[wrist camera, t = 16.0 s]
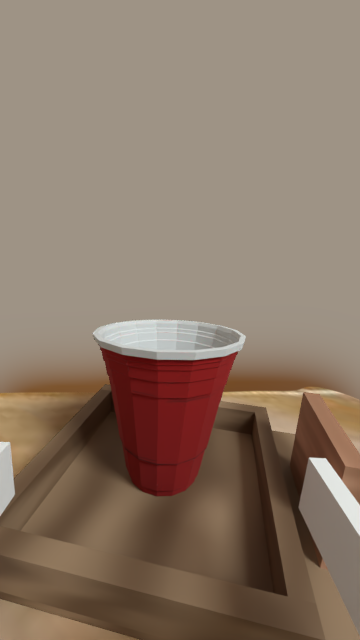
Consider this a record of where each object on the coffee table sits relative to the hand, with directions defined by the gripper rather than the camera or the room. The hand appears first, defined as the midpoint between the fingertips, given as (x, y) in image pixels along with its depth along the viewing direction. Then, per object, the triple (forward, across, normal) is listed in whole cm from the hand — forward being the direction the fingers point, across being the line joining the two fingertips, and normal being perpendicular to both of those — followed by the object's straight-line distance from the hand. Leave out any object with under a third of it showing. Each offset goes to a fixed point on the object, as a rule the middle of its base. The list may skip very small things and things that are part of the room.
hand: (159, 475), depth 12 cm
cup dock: (+7, +2, -8) cm, 11 cm away
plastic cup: (+9, 0, -8) cm, 12 cm away
